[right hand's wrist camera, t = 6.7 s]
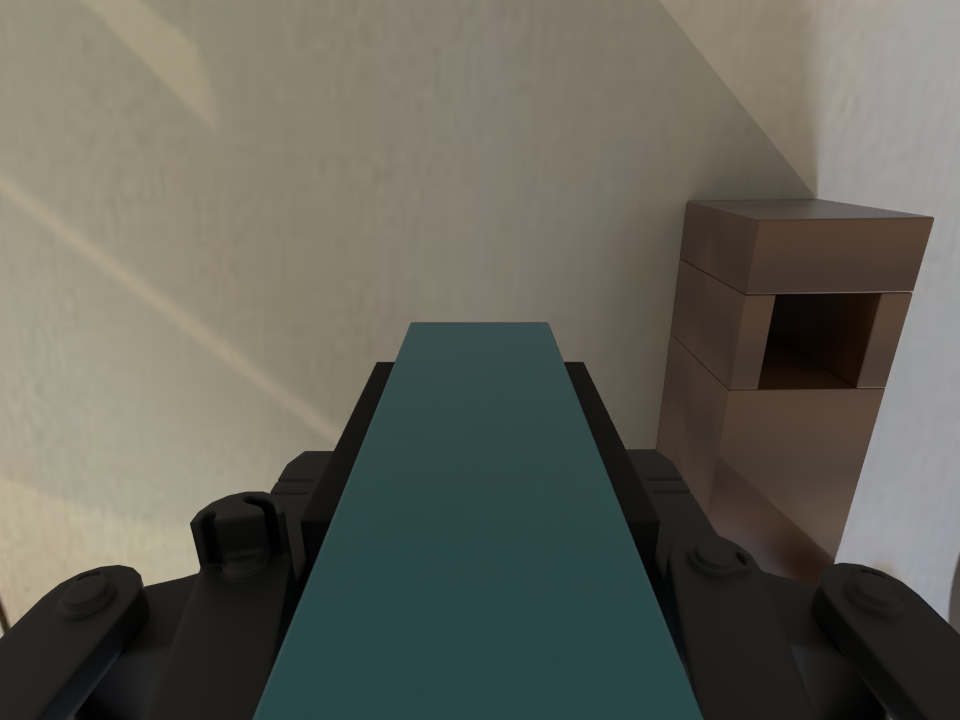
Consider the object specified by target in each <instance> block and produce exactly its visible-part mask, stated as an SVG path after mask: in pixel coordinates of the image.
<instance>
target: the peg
mask: <svg viewBox="0 0 960 720" xmlns="http://www.w3.org/2000/svg"><path fill="white" fill-rule="evenodd" d="M252 720H704V719H703V716H702V714H701V711H700V709H699V706H698V704H697V701H696V699H695V696H694V693H693V691H692V688H691V686H690V683H689V681H688V678H687V676H686V673H685V670H684V668H683V665H682V663H681V660H680V658H679V655H678V653H677V650H676V647H675V645H674V642H673V640H672V637H671V635H670V632H669V630H668V627H667V625H666V622H665V619H664V617H663V614H662V612H661V609H660V607H659V604H658V602H657V599H656V596H655V594H654V591H653V589H652V586H651V584H650V581H649V579H648V576H647V573H646V571H645V568H644V566H643V563H642V561H641V558H640V556H639V553H638V551H637V548H636V545H635V543H634V540H633V538H632V535H631V533H630V530H629V528H628V525H627V522H626V520H625V517H624V515H623V512H622V510H621V507H620V505H619V502H618V500H617V497H616V494H615V492H614V489H613V487H612V484H611V482H610V479H609V477H608V474H607V471H606V469H605V466H604V464H603V461H602V459H601V456H600V454H599V451H598V448H597V446H596V443H595V441H594V438H593V436H592V433H591V431H590V428H589V426H588V423H587V420H586V418H585V415H584V413H583V410H582V408H581V405H580V403H579V400H578V397H577V395H576V392H575V390H574V387H573V385H572V382H571V380H570V377H569V374H568V372H567V369H566V367H565V364H564V362H563V359H562V357H561V354H560V352H559V349H558V346H557V344H556V341H555V339H554V336H553V334H552V331H551V329H550V326H549V323H546V322H413V323H410V326H409V328H408V331H407V333H406V336H405V338H404V341H403V343H402V346H401V348H400V351H399V353H398V356H397V358H396V361H395V364H394V366H393V369H392V371H391V374H390V376H389V379H388V381H387V384H386V386H385V389H384V391H383V394H382V396H381V399H380V401H379V404H378V406H377V409H376V411H375V414H374V416H373V419H372V421H371V424H370V426H369V429H368V431H367V434H366V436H365V439H364V441H363V444H362V446H361V449H360V451H359V454H358V456H357V459H356V461H355V464H354V466H353V469H352V471H351V474H350V476H349V479H348V481H347V484H346V486H345V489H344V491H343V494H342V496H341V499H340V501H339V504H338V506H337V509H336V511H335V514H334V516H333V519H332V521H331V524H330V526H329V529H328V531H327V534H326V536H325V539H324V541H323V544H322V546H321V549H320V551H319V554H318V556H317V559H316V561H315V564H314V566H313V569H312V571H311V574H310V576H309V579H308V581H307V584H306V586H305V589H304V591H303V594H302V597H301V599H300V602H299V604H298V607H297V609H296V612H295V614H294V617H293V619H292V622H291V624H290V627H289V629H288V632H287V634H286V637H285V639H284V642H283V644H282V647H281V649H280V652H279V654H278V657H277V659H276V662H275V664H274V667H273V669H272V672H271V674H270V677H269V679H268V682H267V684H266V687H265V689H264V692H263V694H262V697H261V699H260V702H259V704H258V707H257V709H256V712H255V714H254V717H253V719H252Z"/></svg>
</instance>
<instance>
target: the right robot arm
mask: <svg viewBox="0 0 960 720" xmlns="http://www.w3.org/2000/svg"><path fill="white" fill-rule="evenodd" d="M394 364H395V362H377V363H376V365H375V367H374V369H373V371H372V373H371V376H370V378H369V380H368V382H367V384H366V386H365V388H364V390H363V392H362V394H361V396H360V398H359V400H358V402H357V404H356V407H355V409H354V411H353V413H352V415H351V417H350V419H349V421H348V423H347V425H346V427H345V429H344V431H343V433H342V436H341V438H340V440H339V442H338V444H337V446H336V448H335V450H334V451H305V452H303V453H302V454H300V455H299V456H298V457H296V458H295V459H294V460H292V461H291V462H290V463H288V464H287V466H286V467H285V469H284V471H283V472H282V474H281V476H280V477H279V479H278V482H276V484H275V485H274V487H273V489H272V490H271V492H270V493H271V494H270V493H266V492H243V493H238V494H233V495H229V496H226V497H224V498H222V499H219V500H217V501H215V502H212V503H211V504H209V505H208V506H207V507H205V508H204V509H202V510H201V511H199V512H198V513H197V515H196V516H195V517H194V519H193V520H192V521H191V523H190V526H191V530H192V534H193V538H194V542H195V546H196V550H197V554H198V559H199V563H200V567H201V568H200V571H199V573H197V574H194V575H191V576H187V577H184V578H180V579H176V580H171V581H167V582H163V583H158V584H154V585H149V586H145V587H144V585H143V582H142V578H141V575H140V574H139V573H138V572H137V571H136V570H135V569H133V568H131V567H126V566H121V565H114V566H104V567H99V568H95V569H92V570H89V571H86V572H83V573H80V574H78V575H76V576H74V577H72V578H70V579H68V580H66V581H64V582H62V583H61V584H59V585H58V586H56V587H55V588H54V589H53V590H51V591H50V592H49V593H47V594H46V595H45V596H44V597H42V598H41V599H40V600H39V601H38V602H37V603H36V604H35V605H34V606H33V607H32V608H31V609H30V610H29V611H28V612H27V613H26V614H25V615H24V616H23V617H22V618H21V619H20V620H19V621H18V622H17V623H16V624H15V625H14V626H13V627H12V628H11V629H10V630H9V631H8V632H7V633H6V634H4V635H3V636H2V637H1V638H0V720H252V719H253V717H254V714H255V712H256V709H257V707H258V704H259V702H260V699H261V697H262V694H263V692H264V689H265V687H266V684H267V682H268V679H269V677H270V674H271V672H272V669H273V667H274V664H275V662H276V659H277V657H278V654H279V652H280V649H281V647H282V644H283V642H284V639H285V637H286V634H287V632H288V629H289V627H290V624H291V622H292V619H293V617H294V614H295V612H296V609H297V607H298V604H299V602H300V599H301V597H302V594H303V591H304V589H305V586H306V584H307V581H308V579H309V576H310V574H311V571H312V569H313V566H314V564H315V561H316V559H317V556H318V554H319V551H320V549H321V546H322V544H323V541H324V539H325V536H326V534H327V531H328V529H329V526H330V524H331V521H332V519H333V516H334V514H335V511H336V509H337V506H338V504H339V501H340V499H341V496H342V494H343V491H344V489H345V486H346V484H347V481H348V479H349V476H350V474H351V471H352V469H353V466H354V464H355V461H356V459H357V456H358V454H359V451H360V449H361V446H362V444H363V441H364V439H365V436H366V434H367V431H368V429H369V426H370V424H371V421H372V419H373V416H374V414H375V411H376V409H377V406H378V404H379V401H380V399H381V396H382V394H383V391H384V389H385V386H386V384H387V381H388V379H389V376H390V374H391V371H392V369H393V366H394ZM564 364H565V367H566V369H567V372H568V374H569V377H570V380H571V382H572V385H573V387H574V390H575V392H576V395H577V397H578V400H579V403H580V405H581V408H582V410H583V413H584V415H585V418H586V420H587V423H588V426H589V428H590V431H591V433H592V436H593V438H594V441H595V443H596V446H597V448H598V451H599V454H600V456H601V459H602V461H603V464H604V466H605V469H606V471H607V474H608V477H609V479H610V482H611V484H612V487H613V489H614V492H615V494H616V497H617V500H618V502H619V505H620V507H621V510H622V512H623V515H624V517H625V520H626V522H627V525H628V528H629V530H630V533H631V535H632V538H633V540H634V543H635V545H636V548H637V551H638V553H639V556H640V558H641V561H642V563H643V566H644V568H645V571H646V573H647V576H648V579H649V581H650V584H651V586H652V589H653V591H654V594H655V596H656V599H657V602H658V604H659V607H660V609H661V612H662V614H663V617H664V619H665V622H666V625H667V627H668V630H669V632H670V635H671V637H672V640H673V642H674V645H675V647H676V650H677V653H678V655H679V658H680V660H681V663H682V665H683V668H684V670H685V673H686V676H687V678H688V681H689V683H690V686H691V688H692V691H693V693H694V696H695V699H696V701H697V704H698V706H699V709H700V711H701V714H702V716H703V719H704V720H960V634H959V633H958V632H956V631H955V630H954V629H953V628H952V627H951V626H950V625H949V624H948V623H947V622H946V621H945V620H944V619H943V618H942V617H941V616H940V615H939V614H938V613H937V612H936V611H935V610H934V609H933V608H932V607H931V606H930V605H929V604H928V603H927V602H926V601H924V600H923V599H922V598H921V597H920V596H919V595H918V594H917V593H916V592H914V591H913V590H912V589H910V588H909V587H908V586H907V585H905V584H904V583H903V582H901V581H899V580H897V579H896V578H894V577H892V576H890V575H888V574H886V573H884V572H882V571H879V570H876V569H873V568H870V567H867V566H863V565H859V564H849V563H839V564H834V565H829V566H827V567H826V568H825V569H824V570H823V571H822V572H821V573H820V576H819V580H818V583H817V585H816V584H812V583H808V582H803V581H799V580H794V579H790V578H786V577H781V576H777V575H774V574H771V573H767V572H764V571H762V570H760V567H759V566H758V564H757V563H756V561H755V560H754V558H753V557H752V555H751V554H749V553H748V552H747V551H746V550H744V549H743V548H742V547H741V546H739V545H738V544H736V543H734V542H732V541H730V540H728V539H726V538H723V537H720V536H718V535H717V533H716V531H715V530H714V528H713V526H712V525H711V523H710V522H709V520H708V518H707V517H706V515H705V513H704V512H703V510H702V509H701V507H700V505H699V504H698V502H697V500H696V499H695V497H694V496H693V494H692V493H690V489H689V487H688V486H687V484H686V483H685V481H683V479H682V476H681V474H680V473H679V471H678V470H677V468H676V466H675V465H674V463H673V462H672V461H670V460H669V459H668V458H666V457H665V456H664V455H662V454H661V453H660V452H658V451H657V450H626V449H625V447H624V445H623V443H622V441H621V439H620V437H619V435H618V433H617V431H616V429H615V427H614V424H613V422H612V420H611V418H610V416H609V414H608V412H607V410H606V408H605V406H604V404H603V402H602V400H601V398H600V395H599V393H598V391H597V389H596V387H595V385H594V383H593V381H592V379H591V377H590V375H589V373H588V371H587V369H586V366H585V364H584V362H564Z"/></svg>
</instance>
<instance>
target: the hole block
mask: <svg viewBox="0 0 960 720" xmlns="http://www.w3.org/2000/svg"><path fill="white" fill-rule="evenodd" d="M933 221H934V218H933V217H930V216H923V215H917V214H911V213H904V212H898V211H891V210H885V209H878V208H872V207H865V206H859V205H853V204H846V203H840V202H833V201H827V200H820V199H793V200H726V201H688V202H687V207H686V215H685V223H684V231H683V239H682V247H681V255H680V258H681V259H680V263H679V271H678V279H677V287H676V295H675V304H674V312H673V320H672V328H671V334H670V342H669V351H668V359H667V367H666V375H665V383H664V391H663V399H662V407H661V415H660V423H659V431H658V439H657V447H656V450H657V451H658V452H660V453H661V454H662V455H664V456H665V457H666V458H668V459H669V460H670V461H672V462H673V463H674V465H675V466H676V468H677V470H678V471H679V473H680V474H681V476H682V479H683V481H685V483H686V484H687V486H688V487H689V489H690V493H692V494H693V496H694V497H695V499H696V500H697V502H698V504H699V505H700V507H701V509H702V510H703V512H704V513H705V515H706V517H707V518H708V520H709V522H710V523H711V525H712V526H713V528H714V530H715V531H716V533H717V535H718V536H720V537H723V538H726V539H728V540H730V541H732V542H734V543H736V544H738V545H739V546H741V547H742V548H743V549H744V550H746V551H747V552H748V553H749V554H751V555H752V557H753V558H754V560H755V561H756V563H757V564H758V566H759V567H760V570H762V571H764V572H767V573H771V574H774V575H777V576H781V577H786V578H790V579H794V580H799V581H803V582H808V583H812V584H816V585H817V583H818V580H819V576H820V573H821V572H822V571H823V570H824V569H825V568H826V567H827V566H829V565H834V562H835V558H836V555H837V552H838V548H839V545H840V541H841V538H842V534H843V531H844V528H845V524H846V521H847V517H848V514H849V510H850V507H851V504H852V500H853V497H854V493H855V490H856V486H857V483H858V480H859V476H860V473H861V469H862V466H863V462H864V459H865V456H866V452H867V449H868V445H869V442H870V439H871V435H872V432H873V428H874V425H875V421H876V418H877V415H878V411H879V408H880V404H881V401H882V397H883V394H884V391H885V386H886V383H887V380H888V376H889V373H890V369H891V366H892V362H893V359H894V356H895V352H896V349H897V345H898V342H899V338H900V335H901V332H902V328H903V325H904V321H905V318H906V314H907V311H908V308H909V304H910V301H911V297H912V293H911V292H913V290H914V286H915V283H916V279H917V276H918V273H919V269H920V266H921V262H922V259H923V255H924V252H925V249H926V245H927V242H928V238H929V235H930V231H931V228H932V225H933ZM775 294H776V297H775ZM774 301H775V302H774ZM773 306H774V307H773ZM772 311H773V312H772ZM771 316H772V317H771ZM770 321H771V322H770Z"/></svg>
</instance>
